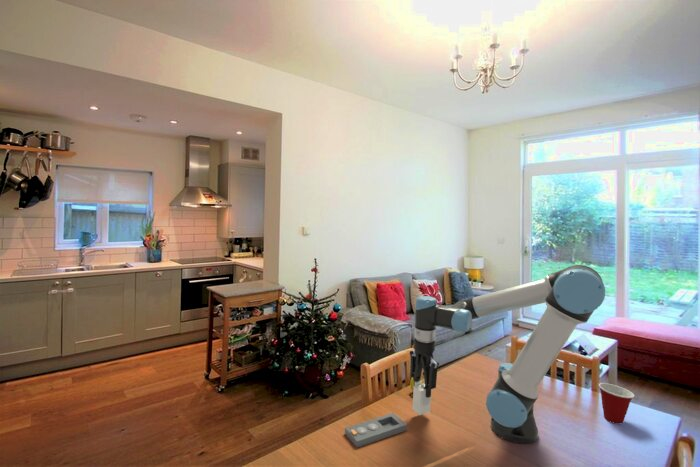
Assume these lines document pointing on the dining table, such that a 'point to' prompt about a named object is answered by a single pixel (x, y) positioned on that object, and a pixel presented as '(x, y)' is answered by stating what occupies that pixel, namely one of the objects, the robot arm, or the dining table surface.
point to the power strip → (375, 429)
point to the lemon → (413, 383)
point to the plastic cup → (615, 402)
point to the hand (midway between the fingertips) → (421, 401)
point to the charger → (419, 400)
